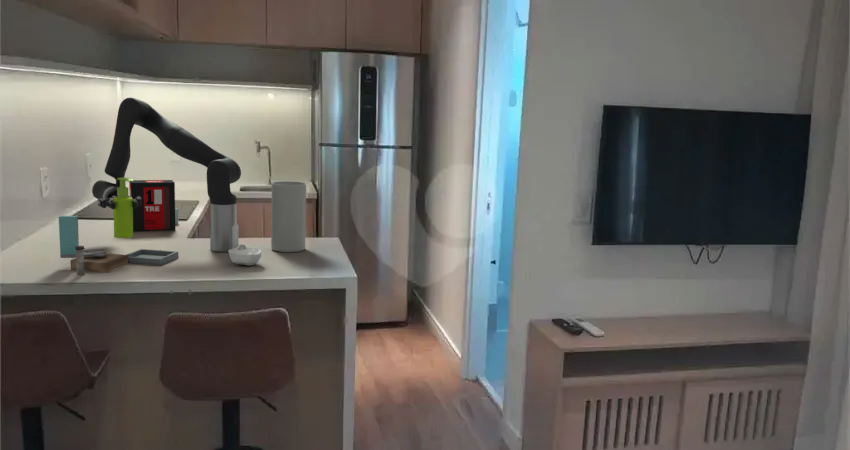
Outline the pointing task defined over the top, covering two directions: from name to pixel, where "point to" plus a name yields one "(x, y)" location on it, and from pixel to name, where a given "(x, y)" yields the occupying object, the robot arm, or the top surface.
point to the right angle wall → (176, 216)
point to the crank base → (96, 262)
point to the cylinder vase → (288, 216)
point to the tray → (151, 257)
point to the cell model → (245, 255)
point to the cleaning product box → (153, 205)
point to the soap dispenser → (123, 211)
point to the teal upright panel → (72, 238)
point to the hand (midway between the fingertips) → (124, 205)
